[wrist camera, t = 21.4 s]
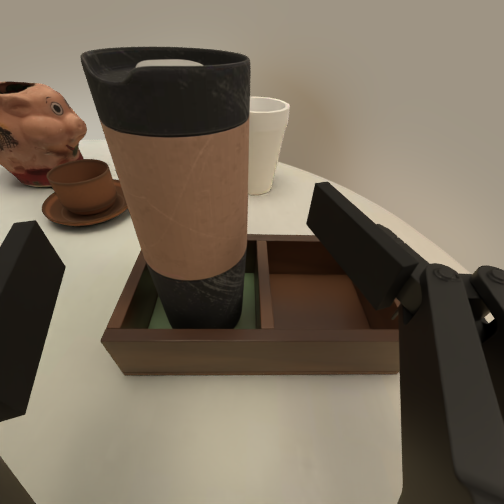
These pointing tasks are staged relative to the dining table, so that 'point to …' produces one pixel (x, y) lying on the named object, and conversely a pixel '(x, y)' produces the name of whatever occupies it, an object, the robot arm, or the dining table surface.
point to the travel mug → (181, 169)
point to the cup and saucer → (83, 194)
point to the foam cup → (265, 141)
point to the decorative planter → (36, 131)
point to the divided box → (262, 321)
